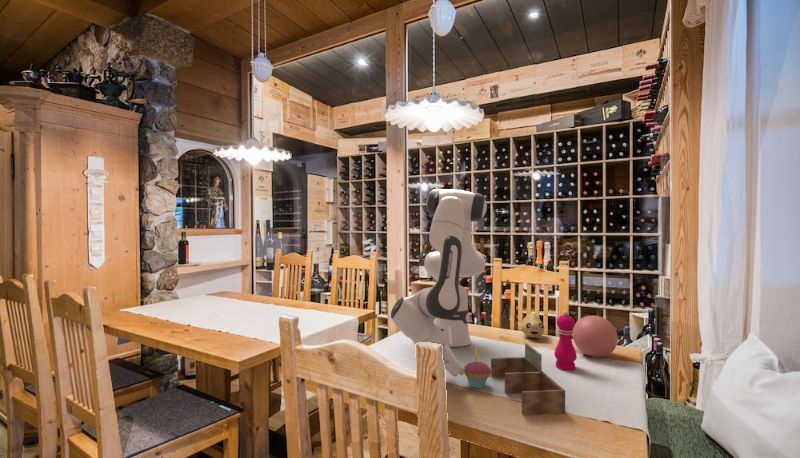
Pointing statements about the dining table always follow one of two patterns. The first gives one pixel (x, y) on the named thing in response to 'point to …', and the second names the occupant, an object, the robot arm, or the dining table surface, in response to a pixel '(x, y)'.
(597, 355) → the balloon
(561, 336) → the pepper mill
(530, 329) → the beige toy head
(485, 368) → the cupcake
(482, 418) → the dining table surface
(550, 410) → the walnut rack
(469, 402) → the dining table surface
